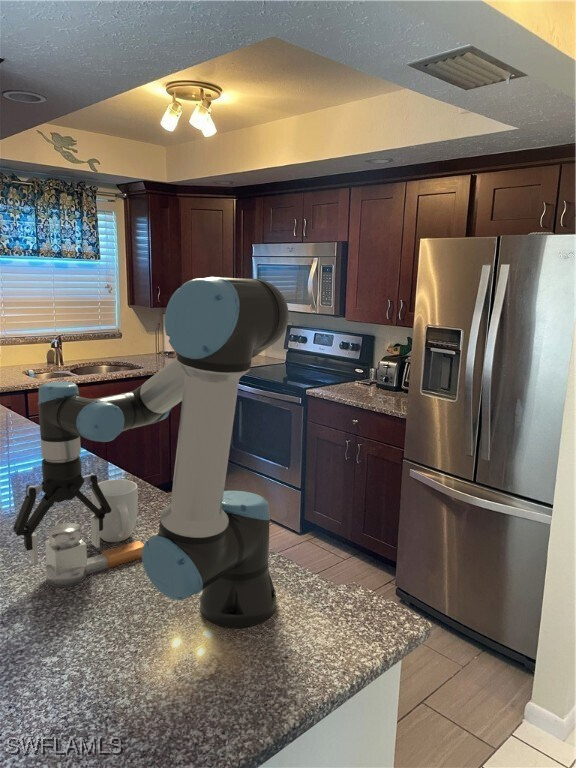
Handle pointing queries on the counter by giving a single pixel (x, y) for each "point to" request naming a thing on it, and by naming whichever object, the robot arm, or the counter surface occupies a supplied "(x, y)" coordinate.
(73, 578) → the ratchet
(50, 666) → the counter surface
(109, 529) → the mug
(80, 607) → the counter surface
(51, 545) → the metal knob on block
